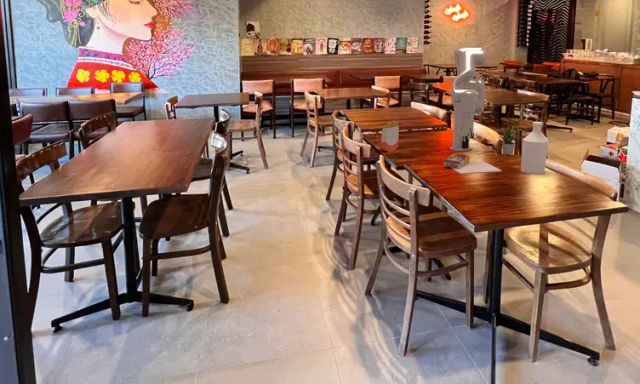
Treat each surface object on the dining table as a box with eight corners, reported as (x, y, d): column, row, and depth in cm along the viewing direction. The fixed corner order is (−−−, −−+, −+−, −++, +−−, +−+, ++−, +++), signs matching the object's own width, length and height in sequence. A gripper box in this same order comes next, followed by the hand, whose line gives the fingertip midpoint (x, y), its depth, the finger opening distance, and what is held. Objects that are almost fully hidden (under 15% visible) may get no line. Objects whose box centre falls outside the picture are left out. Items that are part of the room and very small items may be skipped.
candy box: (453, 160, 283) (443, 166, 271) (454, 153, 282) (444, 158, 270) (469, 163, 279) (459, 169, 267) (470, 155, 277) (460, 161, 265)
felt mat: (445, 164, 278) (445, 163, 278) (483, 162, 281) (483, 161, 281) (460, 174, 259) (460, 173, 259) (501, 171, 263) (501, 170, 262)
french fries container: (380, 151, 311) (381, 122, 306) (392, 148, 318) (393, 119, 313) (386, 152, 308) (386, 123, 303) (398, 149, 315) (399, 120, 309)
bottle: (524, 166, 271) (529, 119, 263) (548, 170, 264) (553, 121, 256) (516, 171, 262) (521, 123, 255) (540, 175, 255) (546, 125, 247)
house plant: (523, 157, 291) (526, 128, 286) (498, 156, 294) (500, 128, 289) (519, 151, 304) (522, 124, 299) (495, 150, 307) (497, 123, 302)
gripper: (454, 112, 279) (452, 145, 285) (466, 117, 265) (464, 151, 271) (467, 112, 280) (465, 145, 286) (480, 116, 266) (477, 150, 272)
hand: (464, 148), depth 278 cm, fingers closed
